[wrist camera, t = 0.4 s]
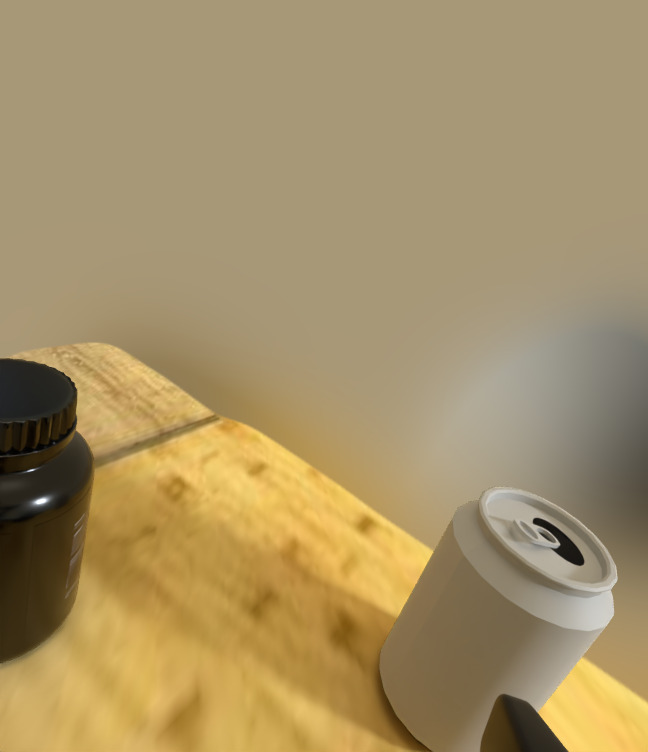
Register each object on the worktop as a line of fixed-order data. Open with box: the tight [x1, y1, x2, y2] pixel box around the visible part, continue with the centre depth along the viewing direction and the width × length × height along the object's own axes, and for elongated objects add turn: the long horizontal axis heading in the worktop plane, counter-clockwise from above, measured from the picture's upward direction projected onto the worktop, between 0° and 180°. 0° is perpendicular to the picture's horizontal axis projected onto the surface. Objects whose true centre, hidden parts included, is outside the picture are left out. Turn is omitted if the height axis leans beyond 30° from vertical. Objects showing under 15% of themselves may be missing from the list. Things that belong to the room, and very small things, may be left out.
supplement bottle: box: [0, 358, 95, 663], centre depth 21 cm, size 7×7×12 cm
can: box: [379, 487, 617, 752], centre depth 24 cm, size 8×8×12 cm
